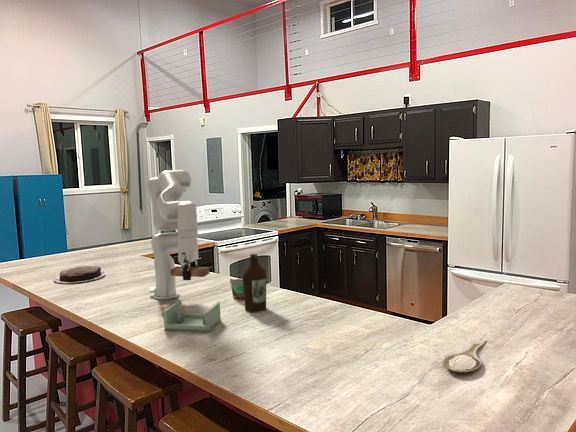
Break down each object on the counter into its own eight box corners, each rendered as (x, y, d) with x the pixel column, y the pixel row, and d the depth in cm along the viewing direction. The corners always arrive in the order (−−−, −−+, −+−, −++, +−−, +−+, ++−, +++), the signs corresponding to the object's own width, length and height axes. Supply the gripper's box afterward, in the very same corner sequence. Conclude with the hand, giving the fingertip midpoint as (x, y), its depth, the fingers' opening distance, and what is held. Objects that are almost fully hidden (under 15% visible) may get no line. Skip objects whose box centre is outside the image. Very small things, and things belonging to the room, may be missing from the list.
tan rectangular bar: (162, 315, 206) (161, 306, 205) (164, 313, 208) (164, 304, 208) (183, 315, 204) (182, 306, 203) (185, 313, 206) (185, 305, 206)
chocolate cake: (42, 283, 268) (41, 272, 267) (77, 271, 294) (76, 261, 294) (83, 286, 260) (82, 274, 259) (115, 273, 286) (114, 263, 286)
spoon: (468, 341, 173) (468, 335, 172) (499, 347, 166) (499, 342, 166) (435, 371, 144) (436, 364, 144) (471, 380, 138) (472, 373, 138)
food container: (231, 302, 222) (231, 281, 221) (230, 298, 228) (229, 278, 227) (257, 299, 225) (256, 278, 224) (255, 295, 231) (254, 275, 230)
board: (170, 276, 188) (170, 269, 187) (177, 272, 194) (176, 266, 193) (203, 276, 185) (203, 270, 185) (209, 273, 191) (209, 266, 191)
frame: (164, 330, 187) (163, 311, 186) (179, 318, 200) (178, 300, 199) (208, 332, 183) (207, 312, 182) (220, 320, 197) (219, 301, 196)
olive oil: (239, 308, 212) (237, 254, 209) (260, 304, 217) (258, 251, 214) (251, 314, 203) (248, 257, 200) (272, 310, 209) (270, 254, 206)
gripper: (187, 230, 197) (190, 272, 199) (169, 237, 180) (172, 283, 182) (204, 230, 195) (207, 273, 197) (188, 237, 178) (190, 283, 180)
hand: (190, 277), depth 189 cm, fingers closed on board, 6 cm apart
